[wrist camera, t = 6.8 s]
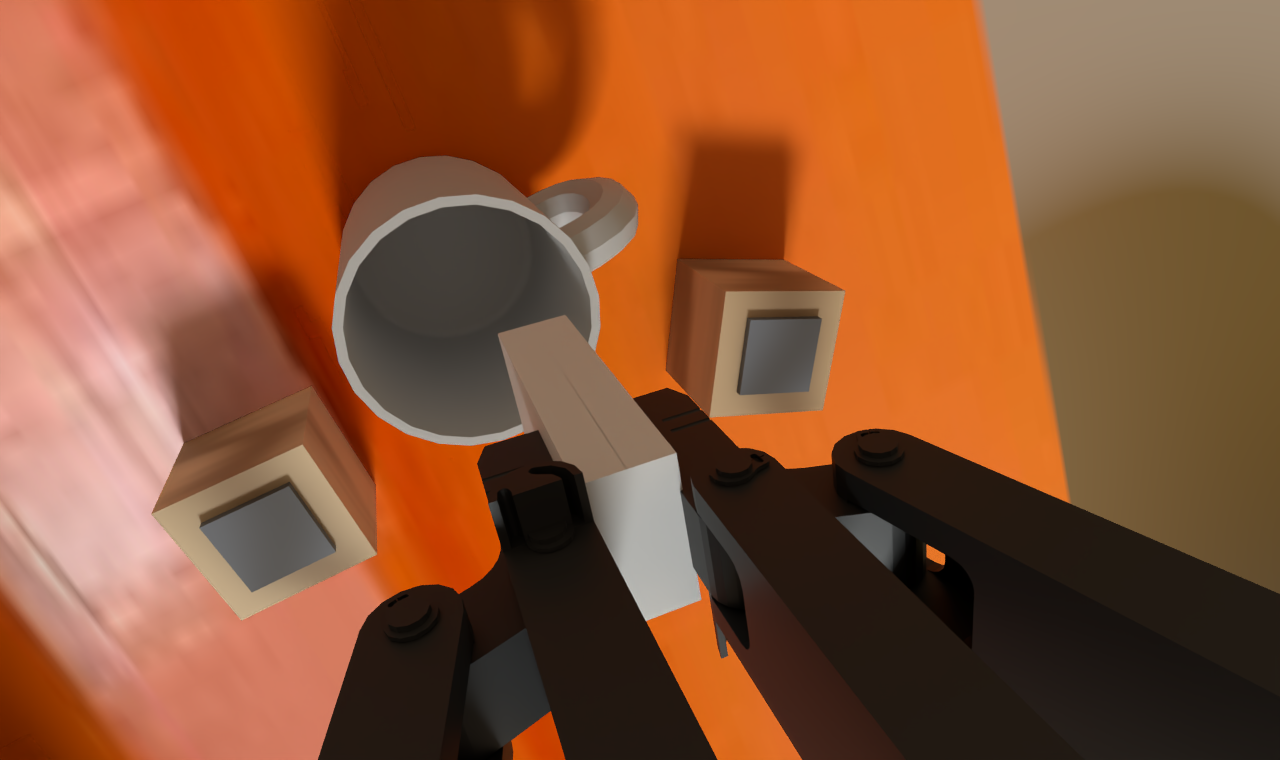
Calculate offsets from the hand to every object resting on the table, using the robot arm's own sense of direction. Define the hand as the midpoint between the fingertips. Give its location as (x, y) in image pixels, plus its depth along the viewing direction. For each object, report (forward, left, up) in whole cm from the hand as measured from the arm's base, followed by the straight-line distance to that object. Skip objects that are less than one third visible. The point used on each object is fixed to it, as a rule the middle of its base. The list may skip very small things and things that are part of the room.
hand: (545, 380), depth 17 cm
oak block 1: (-9, -7, -14) cm, 18 cm away
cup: (0, 0, -14) cm, 14 cm away
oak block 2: (+10, -6, -14) cm, 18 cm away
